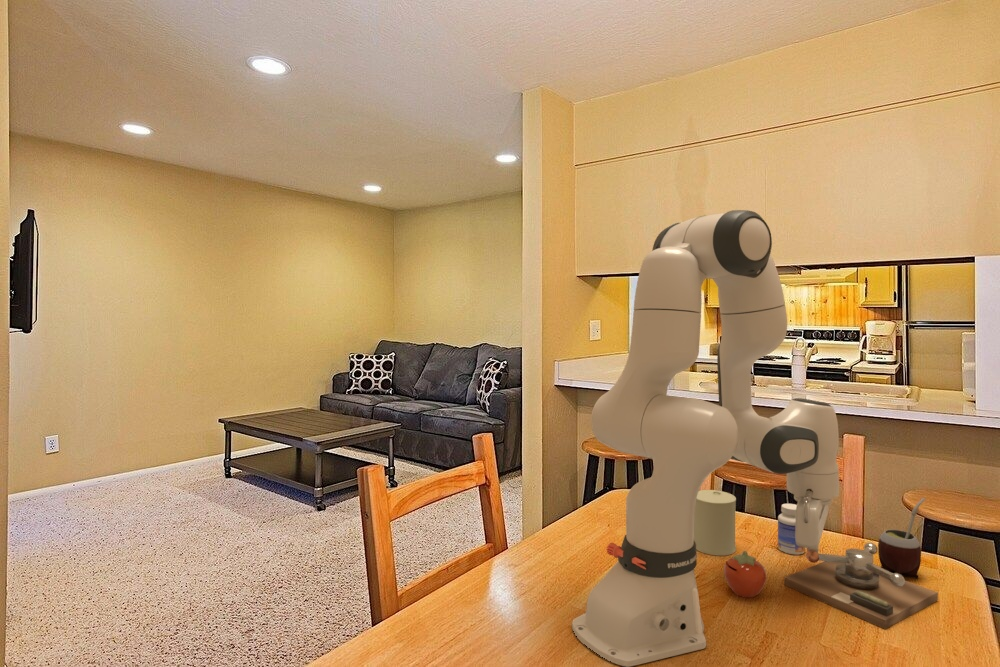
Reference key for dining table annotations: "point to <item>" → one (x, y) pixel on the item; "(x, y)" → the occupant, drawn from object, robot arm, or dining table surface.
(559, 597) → the dining table surface
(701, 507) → the can
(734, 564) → the tomato
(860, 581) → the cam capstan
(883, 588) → the stand board
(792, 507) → the pill bottle
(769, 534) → the dining table surface
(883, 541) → the mate gourd
